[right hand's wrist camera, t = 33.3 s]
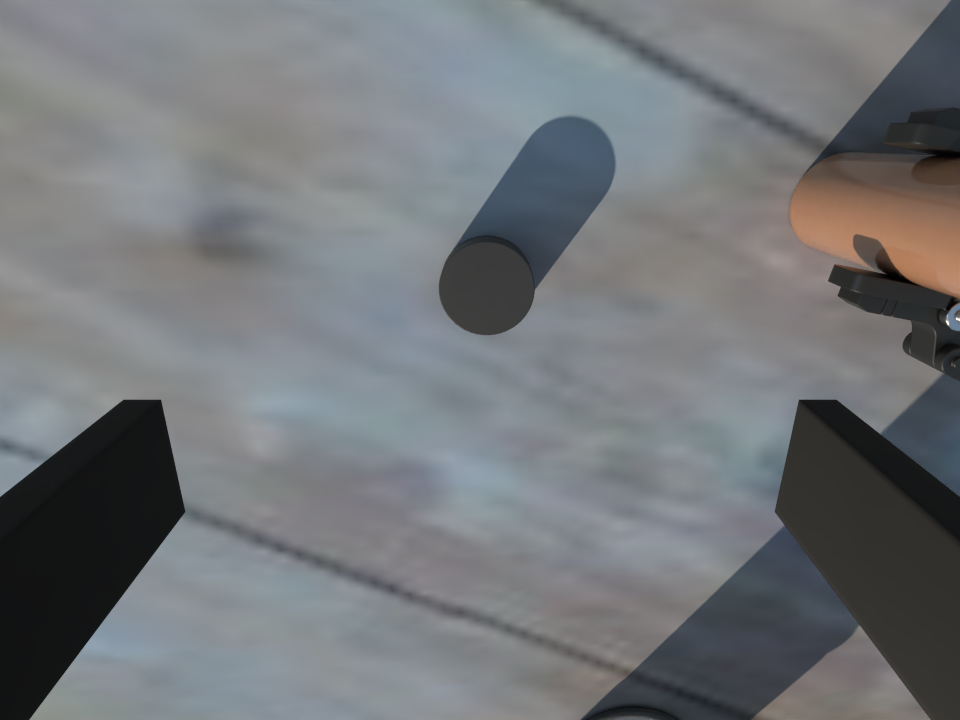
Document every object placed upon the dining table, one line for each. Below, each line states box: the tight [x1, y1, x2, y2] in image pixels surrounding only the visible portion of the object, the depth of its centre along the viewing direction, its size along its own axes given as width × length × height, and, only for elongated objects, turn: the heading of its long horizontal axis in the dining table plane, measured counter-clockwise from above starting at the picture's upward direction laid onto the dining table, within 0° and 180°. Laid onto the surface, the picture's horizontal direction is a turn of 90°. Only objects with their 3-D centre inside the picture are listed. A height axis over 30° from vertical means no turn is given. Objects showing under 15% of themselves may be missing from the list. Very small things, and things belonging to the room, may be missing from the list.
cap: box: [439, 236, 535, 335], centre depth 30 cm, size 5×5×2 cm
